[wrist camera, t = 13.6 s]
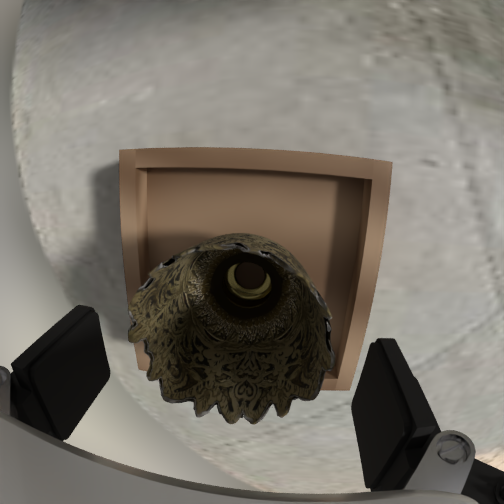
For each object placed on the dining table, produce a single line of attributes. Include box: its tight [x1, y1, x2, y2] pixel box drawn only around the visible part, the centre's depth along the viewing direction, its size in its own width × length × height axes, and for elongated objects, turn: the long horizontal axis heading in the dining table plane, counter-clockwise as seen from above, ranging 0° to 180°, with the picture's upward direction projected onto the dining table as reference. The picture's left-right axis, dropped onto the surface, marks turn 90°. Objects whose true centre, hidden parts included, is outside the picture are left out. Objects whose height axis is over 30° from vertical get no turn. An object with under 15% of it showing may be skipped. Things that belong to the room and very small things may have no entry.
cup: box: [128, 233, 335, 424], centre depth 14 cm, size 8×7×8 cm
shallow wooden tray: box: [119, 147, 392, 390], centre depth 19 cm, size 14×14×6 cm
